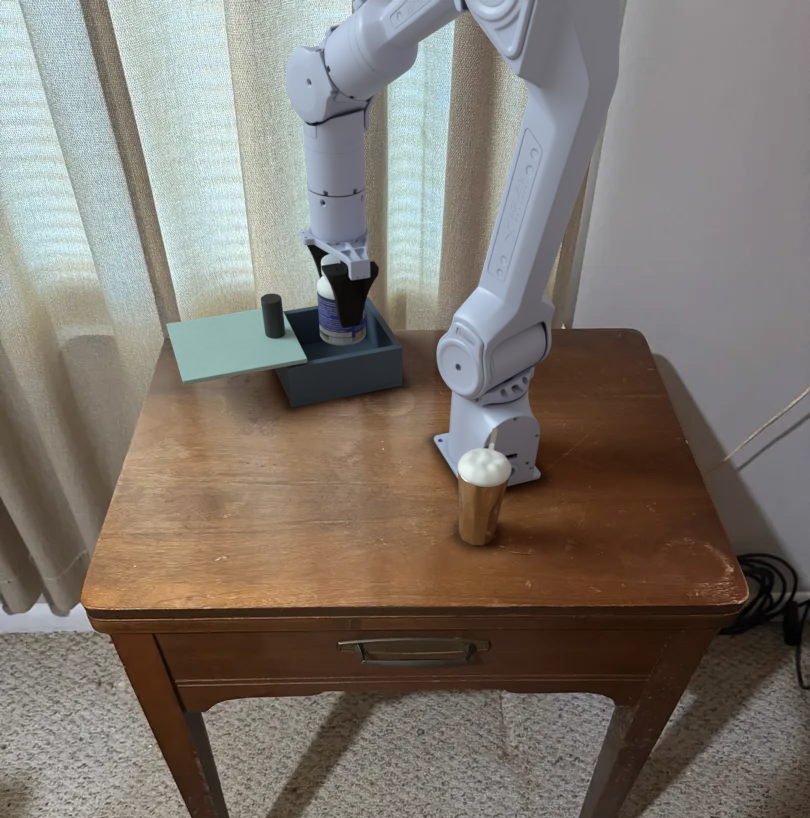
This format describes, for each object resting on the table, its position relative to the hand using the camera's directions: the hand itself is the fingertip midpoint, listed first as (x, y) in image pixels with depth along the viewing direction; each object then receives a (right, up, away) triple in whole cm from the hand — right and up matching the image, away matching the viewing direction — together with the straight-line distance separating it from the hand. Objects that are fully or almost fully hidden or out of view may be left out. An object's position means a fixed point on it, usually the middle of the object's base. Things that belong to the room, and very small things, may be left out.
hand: (342, 311), depth 84 cm
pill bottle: (0, -2, +2) cm, 3 cm away
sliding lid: (-12, -4, -2) cm, 12 cm away
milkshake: (+14, -25, -14) cm, 32 cm away
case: (-1, -5, +5) cm, 7 cm away
